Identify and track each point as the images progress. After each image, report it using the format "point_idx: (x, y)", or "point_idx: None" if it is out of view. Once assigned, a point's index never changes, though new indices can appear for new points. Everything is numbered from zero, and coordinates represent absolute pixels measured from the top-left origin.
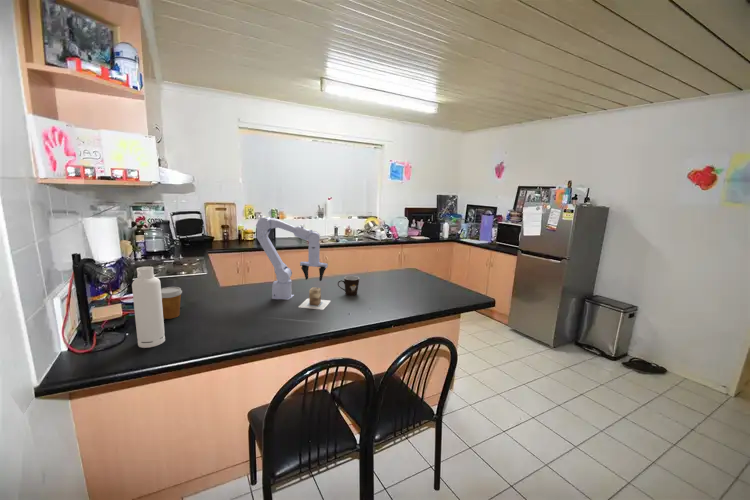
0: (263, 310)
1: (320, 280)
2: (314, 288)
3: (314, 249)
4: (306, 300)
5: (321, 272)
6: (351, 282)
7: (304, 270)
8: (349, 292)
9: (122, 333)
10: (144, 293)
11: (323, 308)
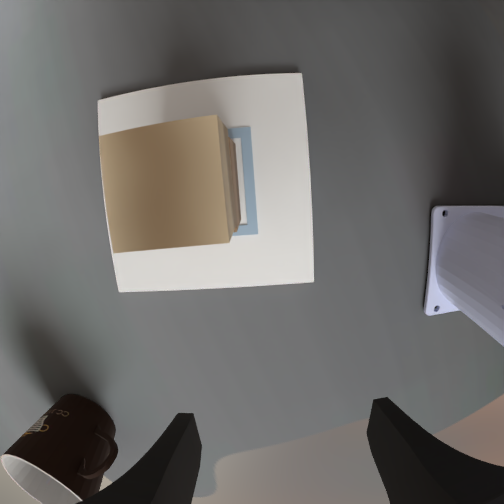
0: (467, 21)
1: (178, 414)
2: (175, 201)
3: None
4: (301, 233)
5: (116, 494)
6: (21, 445)
7: (457, 474)
8: (65, 408)
9: None
10: None
11: (105, 119)
